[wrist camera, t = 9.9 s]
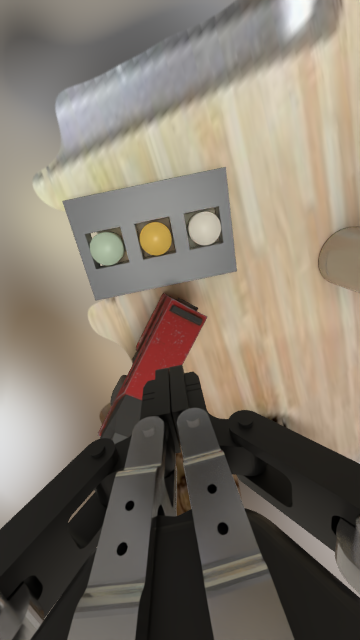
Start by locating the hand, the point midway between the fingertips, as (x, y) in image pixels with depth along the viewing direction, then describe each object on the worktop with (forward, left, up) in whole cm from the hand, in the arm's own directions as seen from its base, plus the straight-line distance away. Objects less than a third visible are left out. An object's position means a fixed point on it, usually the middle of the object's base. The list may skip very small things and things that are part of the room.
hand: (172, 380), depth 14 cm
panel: (0, -6, -29) cm, 30 cm away
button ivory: (-7, -6, -28) cm, 30 cm away
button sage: (+7, -6, -28) cm, 30 cm away
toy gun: (+5, +12, -29) cm, 32 cm away
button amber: (0, -6, -28) cm, 29 cm away
